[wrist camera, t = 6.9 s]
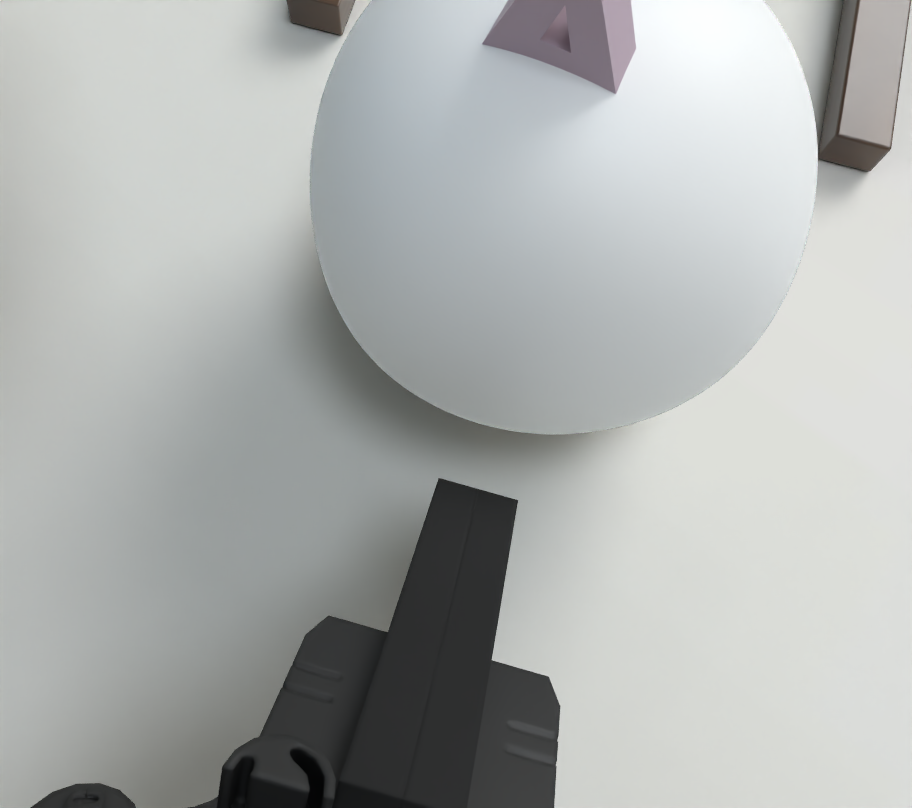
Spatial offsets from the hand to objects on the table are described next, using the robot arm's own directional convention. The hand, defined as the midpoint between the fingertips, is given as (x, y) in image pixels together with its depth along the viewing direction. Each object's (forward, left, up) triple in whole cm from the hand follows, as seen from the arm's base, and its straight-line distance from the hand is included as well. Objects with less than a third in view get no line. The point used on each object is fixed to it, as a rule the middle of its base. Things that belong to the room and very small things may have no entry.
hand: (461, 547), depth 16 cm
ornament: (0, +8, -5) cm, 9 cm away
